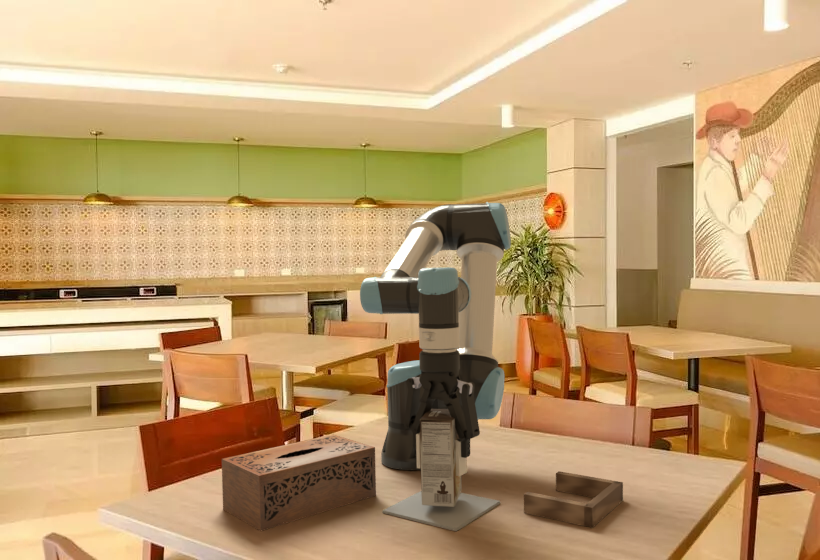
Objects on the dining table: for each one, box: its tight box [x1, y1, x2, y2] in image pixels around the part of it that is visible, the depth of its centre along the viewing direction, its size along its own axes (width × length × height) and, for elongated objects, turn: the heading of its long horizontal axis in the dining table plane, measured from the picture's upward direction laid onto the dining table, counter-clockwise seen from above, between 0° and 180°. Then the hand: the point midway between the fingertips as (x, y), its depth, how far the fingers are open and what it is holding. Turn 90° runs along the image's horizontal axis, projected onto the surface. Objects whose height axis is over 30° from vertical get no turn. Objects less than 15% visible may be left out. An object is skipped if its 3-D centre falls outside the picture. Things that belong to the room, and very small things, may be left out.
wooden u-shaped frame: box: [523, 471, 624, 528], centre depth 129 cm, size 13×16×4 cm
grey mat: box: [382, 490, 501, 532], centre depth 129 cm, size 16×16×1 cm
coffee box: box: [420, 409, 463, 507], centre depth 129 cm, size 9×6×16 cm
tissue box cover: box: [221, 433, 377, 532], centre depth 134 cm, size 26×14×10 cm, turn 131°
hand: (441, 470), depth 129 cm, fingers closed on coffee box, 8 cm apart
